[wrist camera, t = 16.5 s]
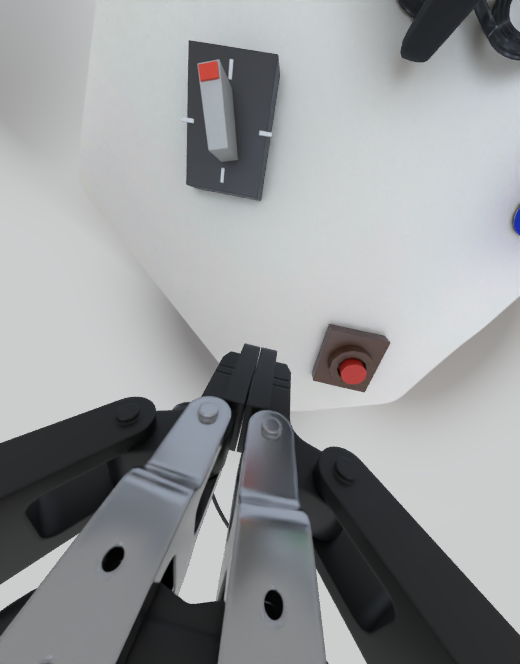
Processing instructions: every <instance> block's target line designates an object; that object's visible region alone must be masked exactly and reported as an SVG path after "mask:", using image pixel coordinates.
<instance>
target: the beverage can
mask: <svg viewBox="0 0 520 664" xmlns="http://www.w3.org/2000/svg"><path fill="white" fill-rule="evenodd" d="M513 224H514V228H515V231H516V232H517V233H518V234H519V235H520V207H519V209H518V210H517V212H516V214H515V216H514V221H513Z"/></svg>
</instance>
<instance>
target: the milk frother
mask: <svg viewBox="0 0 520 664" xmlns="http://www.w3.org/2000/svg"><path fill="white" fill-rule="evenodd" d="M399 2H400V4H401V5H402V7H403V8H404V9H405V10H406V11H407V12H408V13H409V14H410V15H411V16H413V17H415V19H414V21H413V22H412V24H411V26H410V28H409V30H408V32H407V33H406V35H405V37H404V39H403V42H402V47H401V56H402V58H404V59H407V60H410V61H414V62H425V61H427V60H428V59H429V58H430V57H431V56H432V55H433V54H434V53H435V52H436V51H437V50H438V48H439V47H440V46H441V45H442V44H443V43H444V42H445V41H446V39H447V38H448V37H449V36H450V35H451V34H452V33H453V32H454V30H455V29H456V28H457V27H458V26H459V25H460V24H461V22H462V21H463V20H464V19H465V18H466V17H467V16H468V15H469V13H470V12H471V11H472V10H473V9H474V10H475V13H476V15H477V18H478V20H479V23H480V25H481V27H482V30H483V32H484V34H485V35H486V37H487V39H488V40H489V42H490V44H491V46H492V47H493V48H494V49H495V50H496V51H497V52H498V53H500V54H501V55H503V56H505V57H507V58H510V59H513V60H520V32H519V31H517V30H516V29H515V28H514V26H513V25H512V23H511V22H510V18H509V12H510V4H511V2H512V0H496V2H495V4H494V6H493V8H492V12H490V9H489V6H488V3H487V1H486V0H399Z"/></svg>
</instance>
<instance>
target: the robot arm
mask: <svg viewBox="0 0 520 664" xmlns="http://www.w3.org/2000/svg"><path fill="white" fill-rule="evenodd" d="M259 352H260V347H258V346H253V345H249V344H244V347H243V349H242V351H241V354H240V353H235V352H229V353H228V354H226V355H225V356H223V358H222V360H221V361H220V363H219V366H218V367H217V369H216V371H215V373H214V374H213V376H212V378H211V380H210V382H209V383H208V385H207V387H206V389H205V391H204V393H203V395H202V396H201V397H200V398H197V399H195V400H193V401H192V402H191V403H190V404H189V405H188V406H187V407H186V408H184V409H180V410H168V411H156V408H155V405H154V404H153V402H151V401H150V400H148V399H146V398H143V397H129V398H124V399H121V400H118V401H115V402H113V403H110V404H107V405H104V406H102V407H99V408H96V409H93V410H91V411H88V412H85V413H82V414H80V415H77V416H74V417H72V418H69V419H66V420H63V421H60V422H57V423H55V424H52V425H49V426H46V427H44V428H41V429H38V430H35V431H33V432H30V433H27V434H24V435H22V436H19V437H16V438H13V439H11V440H8V441H5V442H3V443H0V584H2V583H3V582H5V581H6V580H8V579H9V578H11V577H13V576H14V575H16V574H17V573H19V572H20V571H22V570H23V569H25V568H26V567H28V566H29V565H31V564H32V563H34V562H35V561H37V560H39V559H40V558H42V557H43V556H45V555H46V554H48V553H49V552H51V551H52V550H54V549H55V548H57V547H59V546H60V545H61V544H63V543H65V542H66V541H68V540H69V539H71V538H72V537H74V536H75V535H77V534H78V533H79V535H78V536H77V537H76V539H75V540H74V541H73V542H72V544H71V545H70V547H69V548H68V549H67V551H66V552H65V553H64V554H63V555H62V557H61V558H60V559H59V561H58V562H57V563H56V565H55V566H54V567H53V568H52V570H51V571H50V573H49V574H48V575H47V576H46V578H45V579H44V580H43V582H42V583H41V584H40V586H39V587H38V588H37V589H34V590H33V591H31V592H29V593H28V594H26V595H24V596H23V597H21V598H19V599H18V600H16V601H15V602H13V603H12V604H10V605H9V606H7V607H6V608H4V609H3V610H1V611H0V664H328V662H327V661H326V655H325V647H324V638H323V628H322V620H321V611H320V602H319V594H318V585H317V576H316V569H317V570H318V573H319V574H320V576H321V578H322V580H323V582H324V584H325V586H326V588H327V589H328V591H329V593H330V595H331V597H332V599H333V601H334V603H335V604H336V606H337V608H338V610H339V612H340V614H341V616H342V618H343V619H344V621H345V623H346V625H347V627H348V629H349V631H350V633H351V634H352V636H353V638H354V640H355V642H356V644H357V646H358V648H359V649H360V651H361V653H362V655H363V657H364V659H365V661H366V662H367V664H520V635H519V634H518V633H517V632H516V631H515V630H514V628H513V627H512V626H511V625H510V624H509V623H508V622H507V621H506V620H505V619H504V618H503V616H502V615H501V614H500V613H499V612H498V611H497V610H496V609H495V608H494V607H493V605H492V604H491V603H490V602H489V601H488V600H487V599H486V598H485V597H484V595H483V594H482V593H481V592H480V591H479V590H478V589H477V588H476V587H475V586H474V584H473V583H472V582H471V581H470V580H469V579H468V578H467V577H466V576H465V575H464V573H463V572H462V571H461V570H460V569H459V568H458V567H457V566H456V565H455V564H454V563H453V561H452V560H451V559H450V558H449V557H448V556H447V555H446V554H445V553H444V552H443V550H442V549H441V548H440V547H439V546H438V545H437V544H436V543H435V542H434V540H432V538H431V537H430V536H429V535H428V534H427V533H426V532H425V531H424V530H423V528H422V527H421V526H420V525H419V524H418V523H417V522H416V521H415V520H414V519H413V517H412V516H411V515H410V514H409V513H408V512H407V511H406V510H405V509H404V508H403V506H402V505H401V504H400V503H399V502H398V501H397V500H396V499H395V498H394V497H393V496H392V494H391V493H390V492H389V491H388V490H387V489H386V488H385V487H384V486H383V484H382V483H381V482H380V481H379V480H378V479H377V478H376V477H375V476H374V475H373V473H372V472H371V471H370V470H369V469H368V468H367V467H366V466H365V465H364V464H363V462H361V460H360V459H359V458H357V456H355V455H354V454H353V453H351V452H350V451H348V450H346V449H343V448H340V447H329V448H326V449H324V450H323V451H320V450H318V449H316V448H315V447H313V446H311V445H309V444H308V443H306V442H305V441H303V440H302V439H301V438H299V436H298V435H297V434H296V433H295V432H294V430H293V428H292V425H291V423H290V386H291V383H290V381H291V372H290V370H289V368H288V366H287V365H286V364H283V363H278V362H276V356H277V351H275V350H271V349H267V348H261V352H260V356H259ZM258 357H259V359H258ZM257 361H258V363H257ZM256 366H257V367H256ZM243 418H244V419H243ZM242 422H243V423H242ZM241 426H242V428H241ZM240 429H241V433H240ZM239 433H240V438H239V443H238V447H237V452H241V453H242V454H241V458H240V463H239V467H238V472H237V476H236V482H235V489H234V495H233V501H232V507H231V514H230V520H229V523H228V522H227V520H226V518H225V517H224V515H223V513H222V511H221V509H220V507H219V505H218V503H217V500H216V498H215V495H214V491H215V488H216V485H217V482H218V480H219V477H220V475H221V471H222V468H223V466H224V464H225V461H226V458H227V454H228V451H229V450H232V451H235V448H236V445H237V441H238V437H239ZM211 499H212V500H213V502H214V504H215V507H216V509H217V511H218V513H219V515H220V516H221V518H222V520H223V522H224V523H225V525H226V526H227V528H228V533H227V539H226V545H225V551H224V557H223V562H222V567H221V573H220V579H219V585H218V591H217V597H216V601H215V602H207V603H200V604H189V603H186V602H185V601H183V600H182V599H181V598H180V597H178V594H179V591H180V588H181V585H182V583H183V580H184V577H185V574H186V572H187V568H188V566H189V562H190V559H191V556H192V552H193V548H194V545H195V542H196V539H197V536H198V533H199V531H200V528H201V525H202V523H203V520H204V517H205V515H206V512H207V509H208V507H209V504H210V501H211Z"/></svg>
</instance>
